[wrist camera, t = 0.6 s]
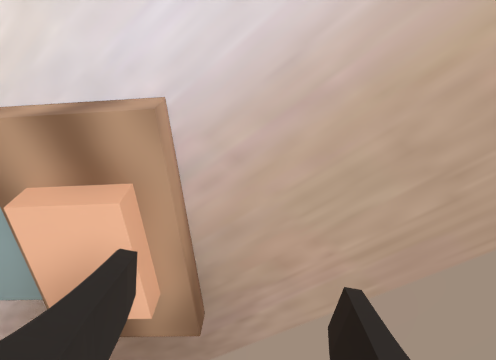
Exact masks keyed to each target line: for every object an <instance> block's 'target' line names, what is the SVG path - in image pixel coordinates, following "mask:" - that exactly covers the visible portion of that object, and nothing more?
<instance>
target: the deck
mask: <svg viewBox="0 0 496 360" xmlns="http://www.w3.org/2000/svg"><path fill="white" fill-rule="evenodd" d="M109 184H133V187H134V191H135V195H136V199H137V203H138V207H139V211H140V215H141V218H142V222H143V226H144V230H145V234H146V238H147V242H148V246H149V250H150V254H151V258H152V262H153V266H154V270H155V274H156V278H157V282H158V285H159V289H160V293H161V294H160V297H159V299H158V302H157V305H156V308H155V311H154V314H153V317H152V319H127V322H126V324H125V326H124V328H123V331H122V333H121V335H120V337H150V336H200V334H201V329H202V324H203V319H204V314H205V312H204V306H203V301H202V296H201V290H200V285H199V279H198V274H197V268H196V263H195V258H194V252H193V247H192V241H191V236H190V230H189V225H188V220H187V214H186V209H185V203H184V198H183V192H182V187H181V182H180V176H179V171H178V165H177V160H176V154H175V149H174V143H173V138H172V133H171V127H170V122H169V116H168V111H167V105H166V100H165V97H159V98H143V99H127V100H110V101H94V102H78V103H61V104H45V105H28V106H12V107H0V208H1V210H2V212H3V214H4V216H5V218H6V221H7V223H8V225H9V227H10V229H11V231H12V234H13V236H14V238H15V240H16V242H17V244H18V247H19V249H20V251H21V253H22V255H23V257H24V260H25V262H26V264H27V266H28V268H29V271H30V273H31V275H32V277H33V279H34V281H35V284H36V286H37V288H38V290H39V292H40V294H41V297H42V299H43V301H44V303H45V305H46V307H47V309H49V306H48V304H47V302H46V300H45V298H44V295H43V293H42V291H41V289H40V287H39V284H38V282H37V280H36V278H35V276H34V274H33V271H32V269H31V267H30V265H29V263H28V260H27V258H26V256H25V254H24V252H23V249H22V247H21V245H20V243H19V241H18V238H17V236H16V234H15V232H14V230H13V228H12V225H11V223H10V221H9V219H8V217H7V214H6V212H5V210H4V207H5V206H6V205H7V204H8V203H10V202H11V201H12V200H13V199H14V198H15V197H16V196H18V195H19V194H20V193H21V192H22V191H23V190H25V189H26V188H37V187H61V186H85V185H109Z"/></svg>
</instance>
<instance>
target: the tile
mask: <svg viewBox="0 0 496 360" xmlns="http://www.w3.org/2000/svg"><path fill="white" fill-rule="evenodd" d="M4 210H5V212H6V214H7V217H8V219H9V221H10V223H11V225H12V228H13V230H14V232H15V234H16V236H17V238H18V241H19V243H20V245H21V247H22V249H23V252H24V254H25V256H26V258H27V260H28V263H29V265H30V267H31V269H32V271H33V274H34V276H35V278H36V280H37V282H38V284H39V287H40V289H41V291H42V293H43V295H44V298H45V300H46V302H47V304H48V306H49V308H50V307H51V306H53V305H54V304H55V303H57V302H58V301H59V300H60V299H62V298H63V297H64V296H66V295H67V294H68V293H69V292H71V291H72V290H73V289H74V288H76V287H77V286H78V285H79V284H80V283H81V282H83V281H84V280H85V279H86V278H87V277H88V276H90V275H91V274H92V273H93V272H94V271H95V270H96V269H97V268H99V267H100V266H101V265H102V264H103V263H104V262H105V261H106V260H107V259H108V258H109V257H110V256H111V255H112V254H113V253H114V252H115V251H117V250H118V249H125V250H131V251H137V277H136V296H135V299H134V302H133V305H132V308H131V311H130V313H129V316H128V319H152V317H153V314H154V311H155V308H156V305H157V302H158V299H159V297H160V294H161V293H160V289H159V285H158V282H157V278H156V274H155V270H154V266H153V262H152V258H151V254H150V250H149V246H148V242H147V238H146V234H145V230H144V226H143V222H142V218H141V215H140V211H139V207H138V203H137V199H136V195H135V191H134V187H133V184H109V185H85V186H61V187H37V188H26V189H25V190H23V191H22V192H21V193H20V194H19V195H18V196H16V197H15V198H14V199H13V200H12V201H11V202H10V203H8V204H7V205H6V206H5V207H4Z"/></svg>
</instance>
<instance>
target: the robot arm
mask: <svg viewBox="0 0 496 360" xmlns="http://www.w3.org/2000/svg"><path fill="white" fill-rule="evenodd" d="M136 277H137V251H131V250H125V249H118V250H117V251H115V252H114V253H113V254H112V255H111V256H110V257H109V258H108V259H107V260H106V261H105V262H104V263H103V264H102V265H101V266H100V267H99V268H97V269H96V270H95V271H94V272H93V273H92V274H91V275H90V276H88V277H87V278H86V279H85V280H84V281H83V282H81V283H80V284H79V285H78V286H77V287H76V288H74V289H73V290H72V291H71V292H69V293H68V294H67V295H66V296H64V297H63V298H62V299H60V300H59V301H58V302H57V303H55V304H54V305H53V306H51V307H50V308H49V309H47V310H46V311H45V312H43V313H42V314H41V315H39V316H38V317H36V318H35V319H33V320H32V321H30V322H29V323H27V324H26V325H24V326H23V327H21V328H20V329H18V330H17V331H15V332H14V333H12V334H10V335H9V336H7V337H5V338H4V339H2V340H1V341H0V360H109V358H110V356H111V354H112V351H113V349H114V347H115V345H116V343H117V341H118V339H119V337H120V335H121V333H122V331H123V328H124V326H125V324H126V322H127V319H128V316H129V313H130V311H131V308H132V305H133V302H134V299H135V296H136ZM328 338H329V354H330V360H410V359H409V357H408V356H407V355H406V354H405V352H404V351H403V350H402V348H401V347H400V346H399V344H398V343H397V341H396V340H395V338H394V337H393V336H392V334H391V333H390V331H389V330H388V329H387V327H386V326H385V324H384V323H383V321H382V320H381V318H380V317H379V315H378V314H377V312H376V311H375V310H374V308H373V306H372V305H371V303H370V302H369V300H368V299H367V297H366V296H365V294H364V293H363V292H362V290H358V289H352V288H346V287H344V289H343V292H342V294H341V297H340V299H339V301H338V304H337V306H336V309H335V311H334V314H333V316H332V319H331V321H330V324H329V326H328Z"/></svg>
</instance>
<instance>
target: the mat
mask: <svg viewBox="0 0 496 360" xmlns="http://www.w3.org/2000/svg"><path fill="white" fill-rule="evenodd" d="M0 300H43V299H42V297H41V294H40V292H39V290H38V288H37V286H36V284H35V281H34V279H33V277H32V275H31V273H30V271H29V268H28V266H27V264H26V262H25V260H24V257H23V255H22V253H21V251H20V249H19V247H18V244H17V242H16V240H15V238H14V236H13V234H12V231H11V229H10V227H9V225H8V223H7V221H6V218H5V216H4V214H3V212H2V210H1V208H0Z"/></svg>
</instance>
